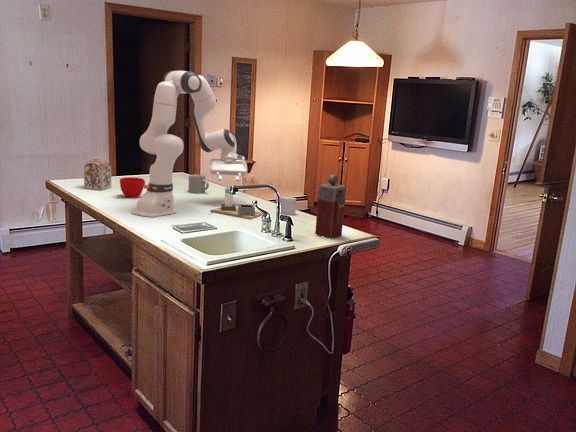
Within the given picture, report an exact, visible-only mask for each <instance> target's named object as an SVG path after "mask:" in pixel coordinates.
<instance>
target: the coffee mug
mask: <svg viewBox="0 0 576 432" xmlns="http://www.w3.org/2000/svg"><path fill="white" fill-rule="evenodd" d="M209 186H210V183H209V181H208V180H207V179H206V176H205V175H203V174H190V175H188V193H190V194H196V195H197V194H198V195H199V194H205V193H206V191H207V190H208V189H209Z"/></svg>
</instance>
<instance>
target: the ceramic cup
mask: <svg viewBox="0 0 576 432" xmlns="http://www.w3.org/2000/svg"><path fill="white" fill-rule="evenodd" d="M119 185H120V186H119V187H120V190H121V192H122V194H123V195H124V197H125V198H128V199H135V198H138V197H140V195H142V193H143V190H144V188H143V186H144V185H146V180H145V179H144V178H140V177H130V176H129V177H121V178H119Z"/></svg>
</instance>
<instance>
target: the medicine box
mask: <svg viewBox="0 0 576 432" xmlns="http://www.w3.org/2000/svg"><path fill="white" fill-rule="evenodd" d="M280 202H281V213H284V214H283V215H287V216H288V215H289V216H294V215H295V214H296V207H297V206H296V205H297V204H296V203H297V198H296V197H289V196H281V197H280V198H279V203H280Z"/></svg>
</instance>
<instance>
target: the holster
mask: <svg viewBox="0 0 576 432" xmlns="http://www.w3.org/2000/svg"><path fill="white" fill-rule="evenodd" d="M236 206H237V205H236V203H234V204H233V205H232V207H226V206H225V203H220V207H221V211H236V208H237V207H236Z"/></svg>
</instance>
